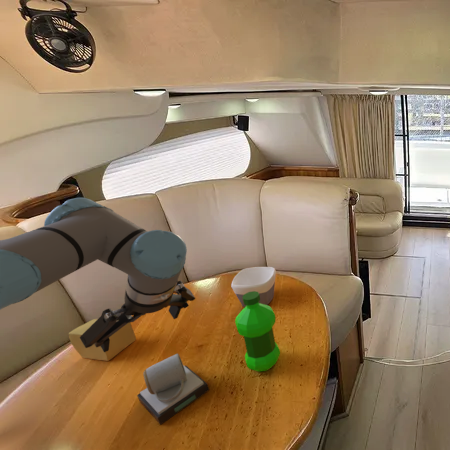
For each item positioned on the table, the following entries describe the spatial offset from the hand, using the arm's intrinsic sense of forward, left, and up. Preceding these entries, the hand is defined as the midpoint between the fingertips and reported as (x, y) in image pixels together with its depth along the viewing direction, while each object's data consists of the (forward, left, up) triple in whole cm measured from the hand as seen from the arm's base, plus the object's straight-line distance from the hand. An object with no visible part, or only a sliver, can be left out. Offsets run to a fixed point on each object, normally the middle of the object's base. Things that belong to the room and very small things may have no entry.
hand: (140, 329), depth 73 cm
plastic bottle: (+22, -9, -25) cm, 35 cm away
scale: (+2, +2, -25) cm, 25 cm away
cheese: (-1, +39, -25) cm, 47 cm away
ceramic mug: (+2, +2, -22) cm, 22 cm away
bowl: (+42, +23, -25) cm, 54 cm away
